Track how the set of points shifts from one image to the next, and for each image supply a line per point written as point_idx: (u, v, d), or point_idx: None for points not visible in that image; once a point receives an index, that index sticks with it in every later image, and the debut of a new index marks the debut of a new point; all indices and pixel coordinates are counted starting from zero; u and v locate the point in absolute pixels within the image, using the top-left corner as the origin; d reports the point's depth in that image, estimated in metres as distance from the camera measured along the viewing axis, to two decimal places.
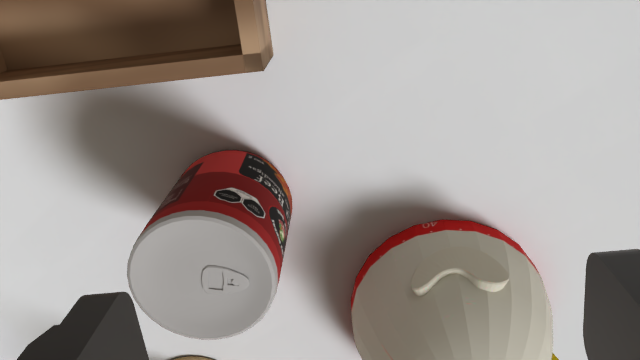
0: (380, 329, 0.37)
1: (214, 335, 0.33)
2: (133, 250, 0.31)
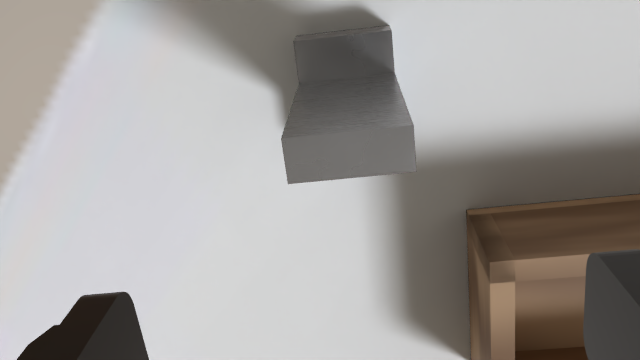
0: None
1: None
2: None
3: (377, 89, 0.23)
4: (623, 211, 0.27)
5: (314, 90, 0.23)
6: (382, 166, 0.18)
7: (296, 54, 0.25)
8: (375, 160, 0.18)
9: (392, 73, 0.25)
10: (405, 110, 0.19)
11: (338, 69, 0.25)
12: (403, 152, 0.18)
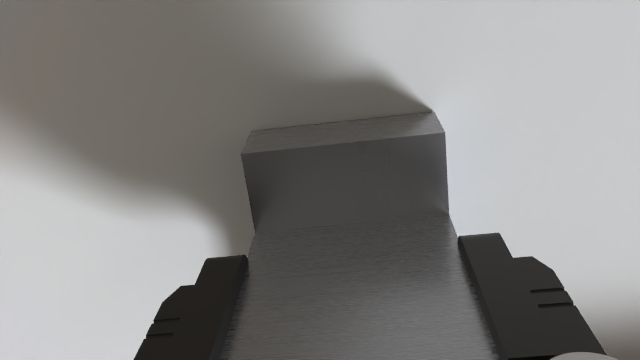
0: None
1: None
2: None
3: (422, 285, 0.10)
4: None
5: (282, 269, 0.11)
6: None
7: (248, 178, 0.12)
8: None
9: (445, 216, 0.12)
10: None
11: (334, 207, 0.12)
12: None
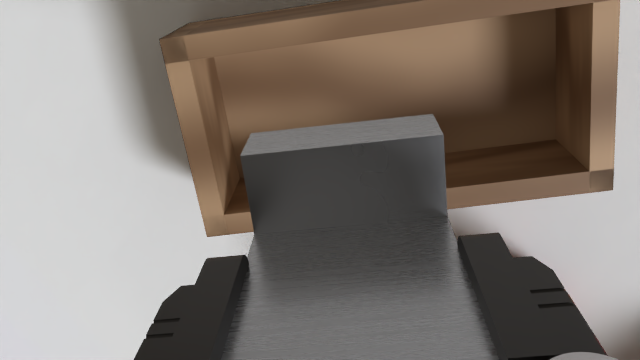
0: None
1: None
2: None
3: (421, 287, 0.10)
4: (323, 6, 0.27)
5: (281, 271, 0.11)
6: None
7: (247, 180, 0.12)
8: None
9: (443, 218, 0.12)
10: None
11: (332, 209, 0.12)
12: None
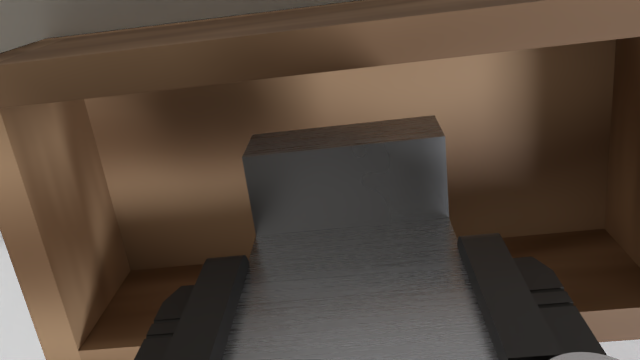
0: None
1: None
2: None
3: (423, 288, 0.10)
4: (246, 19, 0.16)
5: (282, 273, 0.11)
6: None
7: (248, 182, 0.12)
8: None
9: (445, 220, 0.12)
10: None
11: (334, 210, 0.12)
12: None
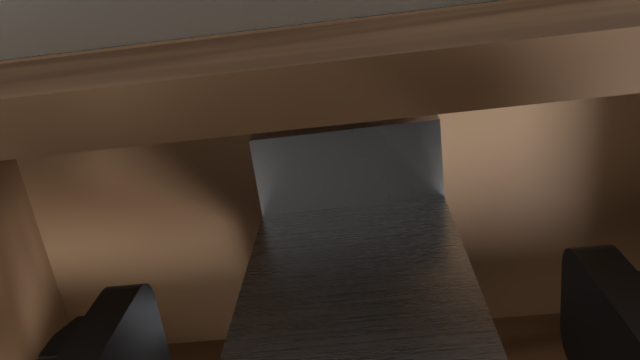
0: None
1: None
2: None
3: (419, 259, 0.11)
4: (214, 44, 0.12)
5: (288, 247, 0.12)
6: None
7: (255, 164, 0.13)
8: None
9: (441, 199, 0.13)
10: None
11: (336, 191, 0.13)
12: None
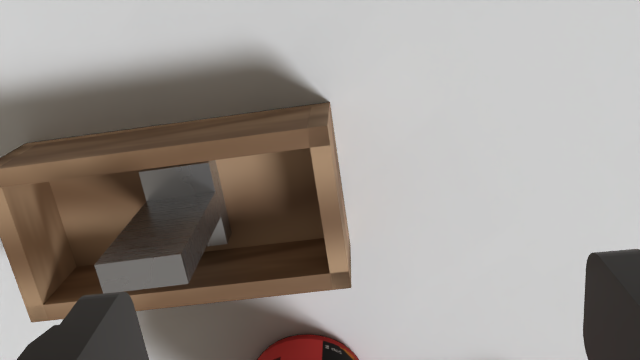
0: None
1: None
2: None
3: (189, 212, 0.31)
4: (124, 136, 0.33)
5: (149, 210, 0.32)
6: (165, 281, 0.27)
7: (141, 181, 0.33)
8: (159, 277, 0.27)
9: (213, 192, 0.33)
10: (188, 237, 0.28)
11: (173, 190, 0.33)
12: (177, 271, 0.27)
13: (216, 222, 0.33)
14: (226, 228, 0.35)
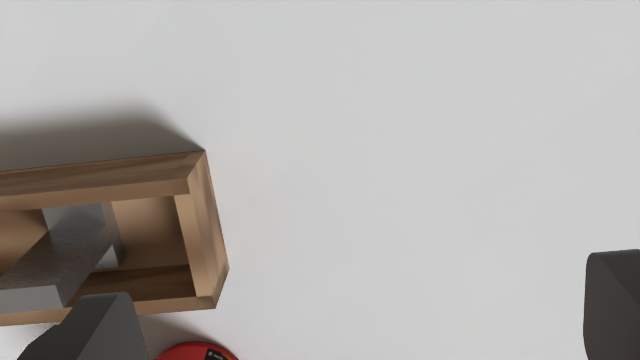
0: None
1: None
2: None
3: (78, 243, 0.37)
4: (28, 176, 0.39)
5: (47, 240, 0.38)
6: (44, 305, 0.33)
7: (44, 213, 0.39)
8: (39, 302, 0.33)
9: (104, 225, 0.39)
10: (67, 269, 0.34)
11: (71, 222, 0.39)
12: (53, 298, 0.33)
13: (105, 250, 0.39)
14: (119, 253, 0.41)
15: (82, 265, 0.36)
